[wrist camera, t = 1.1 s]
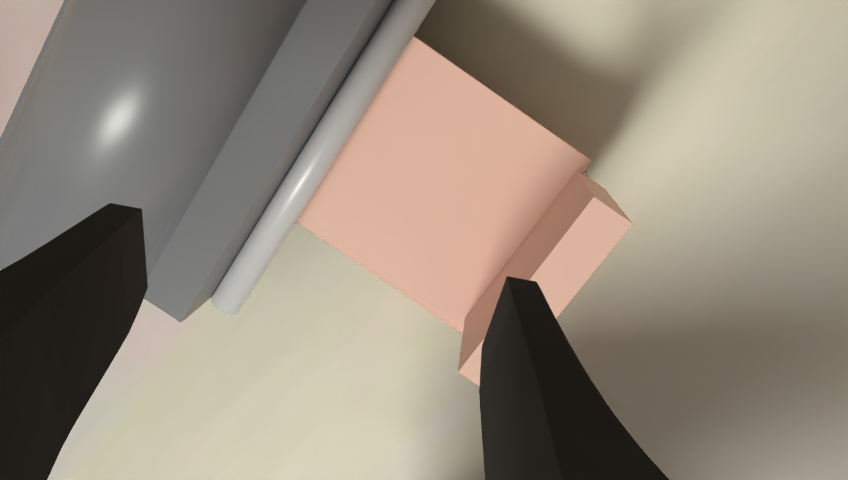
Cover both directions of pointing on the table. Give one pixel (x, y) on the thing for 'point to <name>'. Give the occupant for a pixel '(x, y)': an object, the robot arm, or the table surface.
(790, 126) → the table surface
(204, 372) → the table surface
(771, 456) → the table surface
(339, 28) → the dispenser
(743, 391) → the table surface
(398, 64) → the pink l-shaped bracket
